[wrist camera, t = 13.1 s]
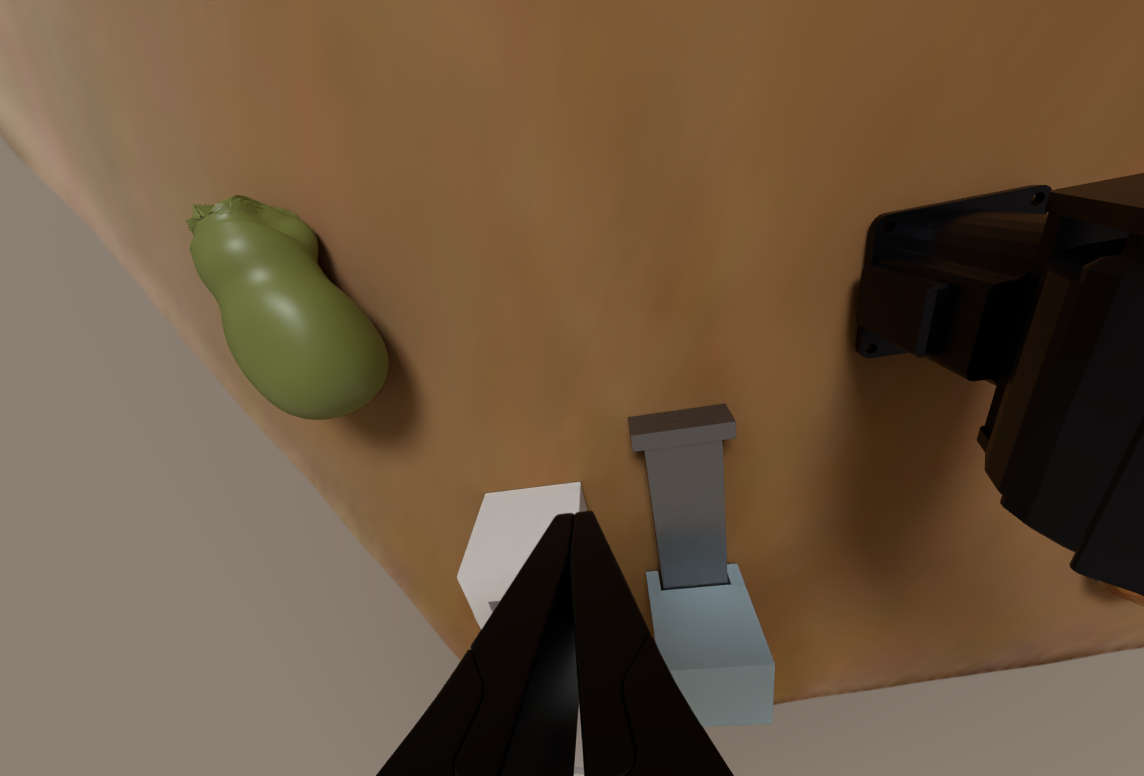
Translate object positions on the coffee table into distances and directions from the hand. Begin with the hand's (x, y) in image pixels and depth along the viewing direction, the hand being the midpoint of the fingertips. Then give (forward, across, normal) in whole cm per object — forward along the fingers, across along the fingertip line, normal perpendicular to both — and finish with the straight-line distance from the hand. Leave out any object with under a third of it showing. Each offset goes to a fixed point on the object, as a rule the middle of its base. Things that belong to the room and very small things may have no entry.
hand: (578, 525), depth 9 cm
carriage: (+12, -4, +20) cm, 24 cm away
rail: (+12, -4, +15) cm, 20 cm away
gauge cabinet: (+12, +5, +13) cm, 19 cm away
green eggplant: (+13, +13, -4) cm, 18 cm away
